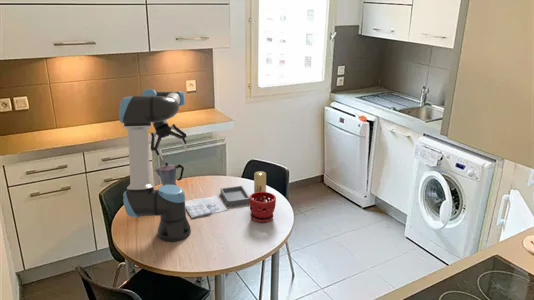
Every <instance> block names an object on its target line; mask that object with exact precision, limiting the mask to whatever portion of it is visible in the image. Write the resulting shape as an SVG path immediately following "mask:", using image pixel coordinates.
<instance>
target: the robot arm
mask: <svg viewBox="0 0 534 300" xmlns="http://www.w3.org/2000/svg"><path fill="white" fill-rule="evenodd" d="M185 104H186V96H185V92H184V91H178V90H177V91H156V90H155V89H152V88H146V89H144V90H143V91H142V93H141V95H132V96H130V95H129V96H125V97H123V98H122V99H121V101H120V104H119V111H118V112H119V113H118V117H119V122H120V123H121V124H123V128H125V129H126V131H127V136H128V137H127V140H128V160H129V161H128V162H129V185H128V186H127V187H126V191H124V192H123V194H122V197H123V200H122V201H123V206H124V209H125V213H126V214H127V216H129V217H131V218H132V217H134V218H135V217H136V218H140V217H156V216H159V217H160V221H159V224H158V227H157V236H158V238H159V239H160V240H162V241H164V242H169V243H171V242H172V243H174V242H180V241H182V240H184V239H187V238H188V237H189V236H190V235H191V232H192V230H191V229H192V228H191V225H190V223H189V220H188V218H187V212H186V211H187V210H186V208H185V201H186V197H185V196H186V195H185V190H184V189H183V188H182V187H180V186H178V185H177V184H176V185H177V186H176V185H164V186H162V185H160V186H159V187H158V188H157V189H155V187H154V185H153V183H151V176H150V174H151V172H150V171H151V170H150V152H149V151H150V150H151V152H155V154H156V156H159V157H160V159H161V161H164V157H163V155H162V153H161V150H160V149H159V146H160V143H161V141H162V138H163V139H164V138H166V137H169V136H173V137H175V138H177V139H179V140H180V141H181V143H182V146H183V147H184V149H185V151H188V147H187V146H186V144H187V141H186V138H187V134H186V133H185V132H184V131H182V130H181V129H179V127H177V126H176V125H175V123H173V124H172V125H171V126H170V125H169V123H168V121H167V120H171V118H173V117H174V116H175V115H177V113H178V112H179V110H180V107H181V106H185ZM152 126H153V128H154V130H155V132H151V133H150V136H151V140H150V149H149V129H151V127H152ZM172 130H174V131H172ZM175 131H176V132H177V133H176V132H175ZM156 136H157V139H156ZM155 139H156V142H155Z"/></svg>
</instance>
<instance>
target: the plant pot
mask: <svg viewBox="0 0 534 300" xmlns="http://www.w3.org/2000/svg"><path fill="white" fill-rule="evenodd" d="M249 196H250V200H249V203H248V204H249V210H250V212H251V213H250V218H251V219H252V220H253V221H255V222H257V223H268V222H270V221H271V220H273V218H274V212H275V209H276V203H277V198H276V195H275V194H273V193H271V192H268V191H266V192H256V193H254V192H253V193H251V194H250V195H249ZM264 196H265V198H264ZM256 198H257V199H256ZM260 198H262V199H261V200H260ZM264 199H266V202H263V200H264ZM258 201H259V202H258Z"/></svg>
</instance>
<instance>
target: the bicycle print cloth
mask: <svg viewBox="0 0 534 300" xmlns="http://www.w3.org/2000/svg"><path fill="white" fill-rule="evenodd" d="M185 209H186V211H187V213H188V215H189V216H190V217H191V219H195V218H200V217H205V216H210V215H214V214H218V213H222V212H224V213H225V212H227V211H228V209H227V207H226V206H225V205H224V204H223V203H222V201H220V198H219V196H217V195H213V196H208V197H203V198H201V197H198V198H195V199H190V200H185Z"/></svg>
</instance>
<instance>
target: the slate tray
mask: <svg viewBox="0 0 534 300" xmlns="http://www.w3.org/2000/svg"><path fill="white" fill-rule="evenodd" d="M220 195H221V197H222V198H223V200H224V202H225V204H226V206H227V207H234V206H241V205H247V204H250V203H249V200H250V195H249V193H248V192H247V191H246V189H245V187H244V186H243V185H237V186H230V187H222V188H220Z"/></svg>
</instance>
